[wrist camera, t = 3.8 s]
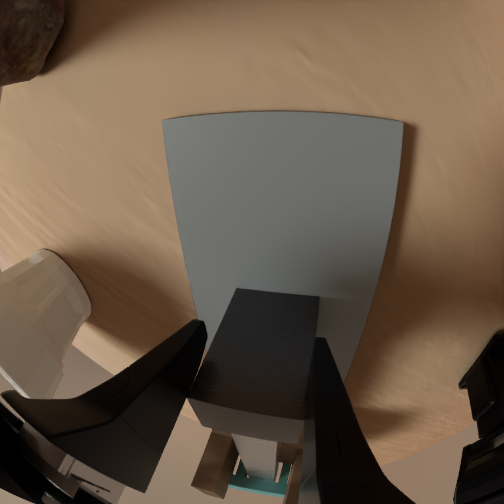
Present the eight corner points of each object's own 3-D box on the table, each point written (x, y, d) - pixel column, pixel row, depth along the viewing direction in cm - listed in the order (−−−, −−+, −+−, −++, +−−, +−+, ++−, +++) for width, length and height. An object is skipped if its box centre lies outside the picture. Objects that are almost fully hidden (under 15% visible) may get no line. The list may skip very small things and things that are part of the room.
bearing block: (326, 402, 21) (308, 509, 13) (316, 426, 24) (300, 512, 16) (227, 387, 23) (190, 485, 15) (234, 413, 26) (205, 493, 18)
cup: (97, 346, 27) (47, 417, 18) (25, 276, 24) (-31, 334, 15) (122, 298, 20) (41, 407, 11) (27, 202, 18) (-64, 273, 8)
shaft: (319, 296, 14) (304, 420, 8) (293, 442, 26) (281, 492, 20) (236, 287, 15) (186, 397, 9) (256, 436, 27) (241, 485, 21)
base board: (397, 120, 9) (403, 122, 8) (314, 440, 27) (313, 447, 26) (172, 117, 12) (161, 120, 11) (234, 427, 29) (232, 434, 28)
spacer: (310, 455, 21) (301, 496, 17) (306, 461, 23) (298, 499, 19) (228, 442, 23) (215, 480, 19) (231, 449, 25) (219, 484, 21)
